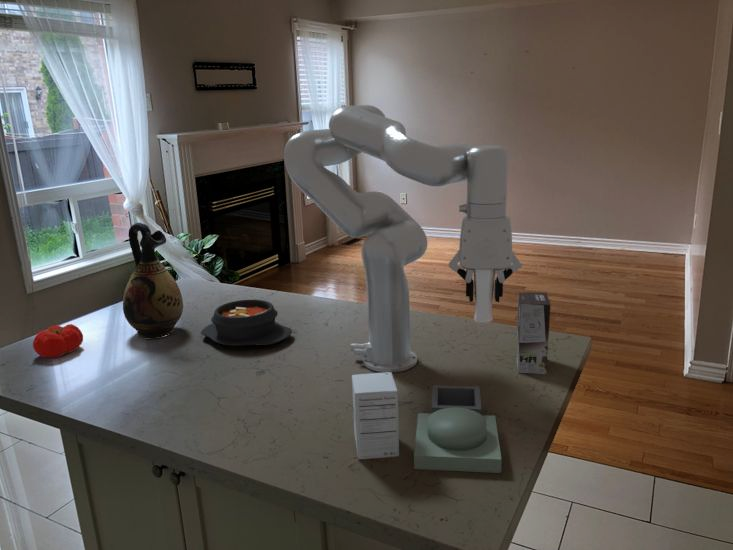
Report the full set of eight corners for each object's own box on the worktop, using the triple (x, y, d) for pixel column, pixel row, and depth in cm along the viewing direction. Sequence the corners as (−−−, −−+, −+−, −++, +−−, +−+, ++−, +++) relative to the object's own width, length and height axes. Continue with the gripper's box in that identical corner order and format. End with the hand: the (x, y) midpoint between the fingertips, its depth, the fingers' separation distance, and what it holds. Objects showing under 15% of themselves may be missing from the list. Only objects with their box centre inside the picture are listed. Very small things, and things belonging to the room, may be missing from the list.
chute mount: (414, 468, 98) (413, 441, 97) (420, 403, 120) (420, 380, 118) (501, 473, 96) (501, 445, 95) (491, 405, 118) (492, 382, 117)
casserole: (306, 332, 160) (304, 302, 158) (266, 358, 144) (263, 326, 142) (230, 320, 170) (227, 292, 168) (185, 344, 154) (181, 314, 152)
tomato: (28, 360, 148) (23, 335, 146) (61, 343, 158) (56, 320, 156) (61, 363, 146) (56, 338, 144) (92, 345, 156) (88, 322, 154)
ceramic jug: (198, 328, 165) (185, 221, 157) (152, 347, 153) (136, 232, 145) (157, 318, 174) (144, 216, 166) (111, 335, 162) (93, 227, 154)
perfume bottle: (495, 316, 124) (497, 246, 120) (493, 324, 120) (495, 251, 116) (473, 314, 125) (474, 245, 121) (470, 322, 121) (471, 250, 117)
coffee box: (547, 374, 130) (551, 304, 126) (517, 373, 131) (519, 303, 127) (544, 357, 139) (547, 291, 134) (515, 356, 140) (518, 290, 136)
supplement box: (353, 437, 108) (351, 373, 105) (394, 434, 109) (393, 370, 105) (356, 460, 101) (353, 393, 98) (400, 457, 102) (398, 389, 98)
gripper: (442, 214, 114) (441, 305, 119) (533, 213, 112) (529, 306, 117) (442, 207, 121) (441, 293, 126) (528, 207, 119) (524, 294, 124)
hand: (483, 299), depth 121 cm, fingers closed on perfume bottle, 4 cm apart
